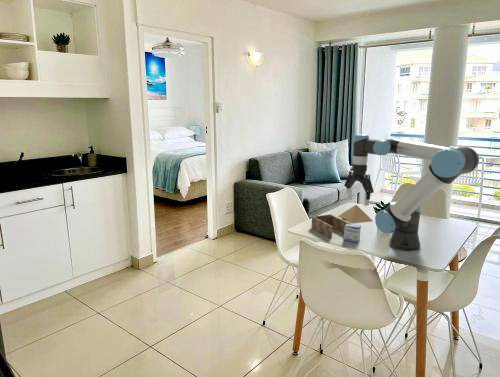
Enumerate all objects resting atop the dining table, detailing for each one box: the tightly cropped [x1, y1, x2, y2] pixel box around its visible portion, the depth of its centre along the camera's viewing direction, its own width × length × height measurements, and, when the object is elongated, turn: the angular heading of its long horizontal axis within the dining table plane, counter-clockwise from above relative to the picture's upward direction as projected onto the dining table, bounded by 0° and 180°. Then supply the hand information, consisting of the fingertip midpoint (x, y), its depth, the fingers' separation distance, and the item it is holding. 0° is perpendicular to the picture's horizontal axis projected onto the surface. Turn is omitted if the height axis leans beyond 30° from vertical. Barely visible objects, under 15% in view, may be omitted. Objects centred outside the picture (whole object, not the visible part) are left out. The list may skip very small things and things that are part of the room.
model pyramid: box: [337, 204, 374, 224], centre depth 246 cm, size 17×17×10 cm
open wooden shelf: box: [311, 213, 351, 239], centre depth 222 cm, size 20×13×7 cm, turn 23°
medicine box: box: [343, 223, 361, 244], centre depth 207 cm, size 8×4×9 cm, turn 63°
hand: (357, 202), depth 206 cm, fingers open, 13 cm apart
